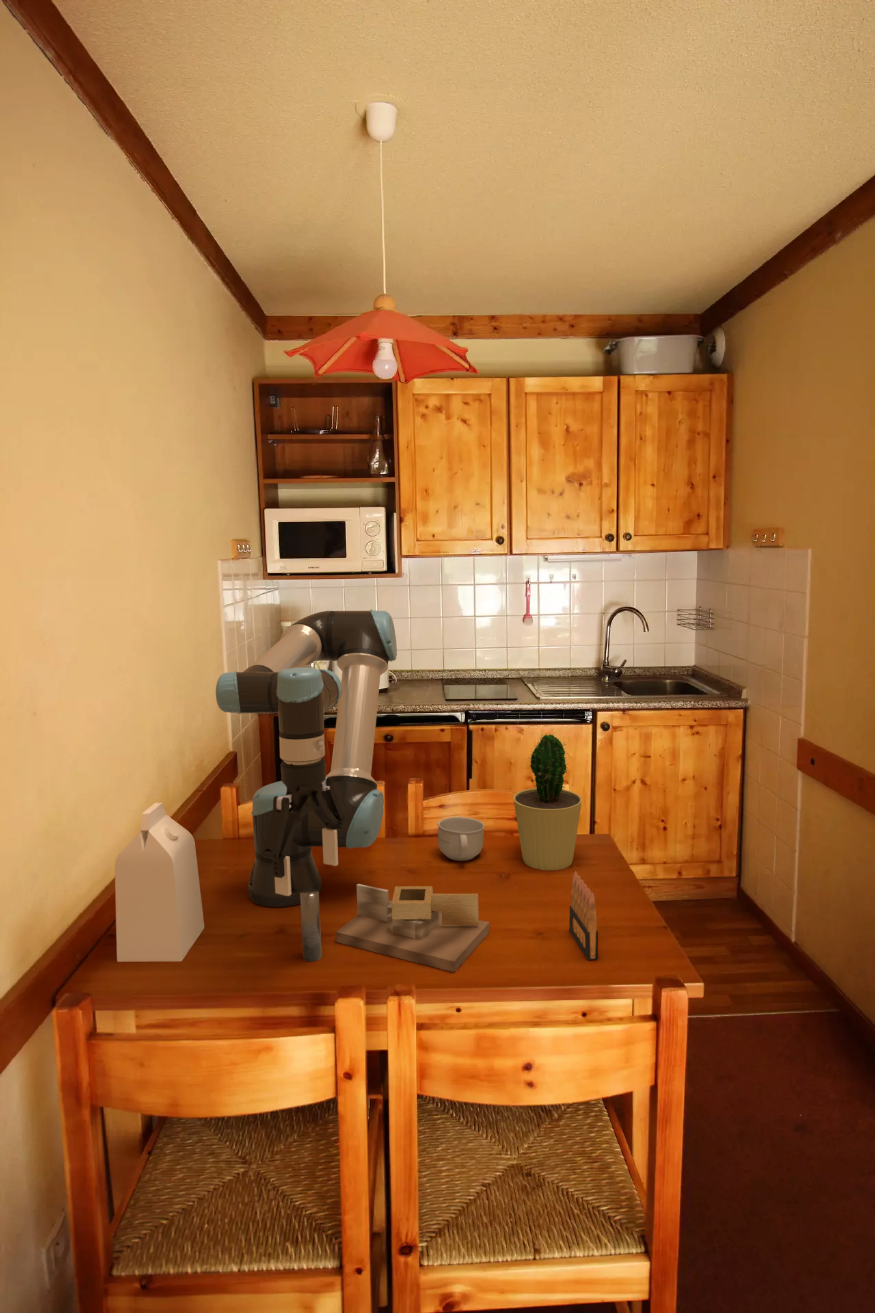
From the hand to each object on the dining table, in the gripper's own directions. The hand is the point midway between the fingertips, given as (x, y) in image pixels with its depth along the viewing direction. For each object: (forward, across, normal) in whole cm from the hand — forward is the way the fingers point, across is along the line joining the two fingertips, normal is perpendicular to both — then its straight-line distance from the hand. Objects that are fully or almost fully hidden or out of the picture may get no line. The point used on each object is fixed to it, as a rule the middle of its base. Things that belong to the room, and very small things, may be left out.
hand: (308, 878), depth 131 cm
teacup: (+14, +50, -5) cm, 53 cm away
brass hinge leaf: (+12, +16, -17) cm, 26 cm away
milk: (+15, -8, +28) cm, 33 cm away
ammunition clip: (+15, +24, -42) cm, 51 cm away
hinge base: (+15, +14, -13) cm, 24 cm away
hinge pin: (+15, 0, 0) cm, 15 cm away
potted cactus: (+14, +58, -24) cm, 64 cm away
